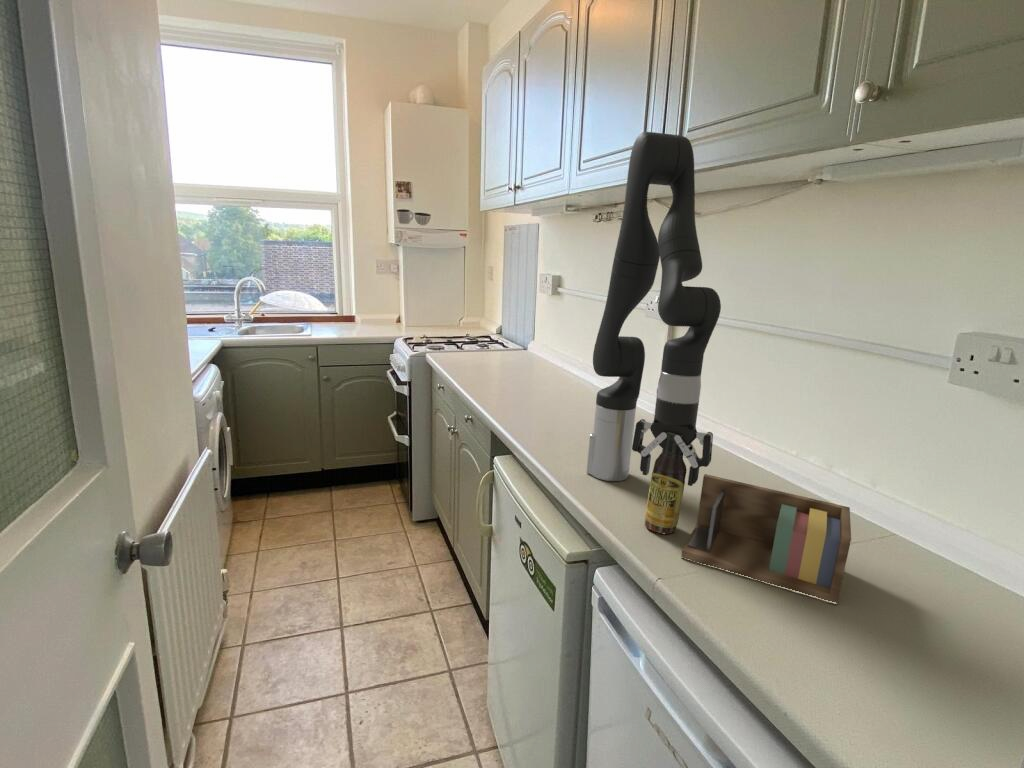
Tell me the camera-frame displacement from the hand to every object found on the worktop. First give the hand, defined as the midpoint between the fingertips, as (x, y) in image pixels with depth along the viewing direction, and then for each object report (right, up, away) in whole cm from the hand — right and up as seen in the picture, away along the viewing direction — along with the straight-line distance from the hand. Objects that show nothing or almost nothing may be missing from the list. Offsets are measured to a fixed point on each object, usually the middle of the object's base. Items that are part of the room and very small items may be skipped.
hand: (667, 479), depth 107 cm
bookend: (+6, -10, -4) cm, 12 cm away
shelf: (+14, -13, -8) cm, 21 cm away
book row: (+19, -13, -11) cm, 26 cm away
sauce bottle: (-1, -10, +3) cm, 11 cm away
